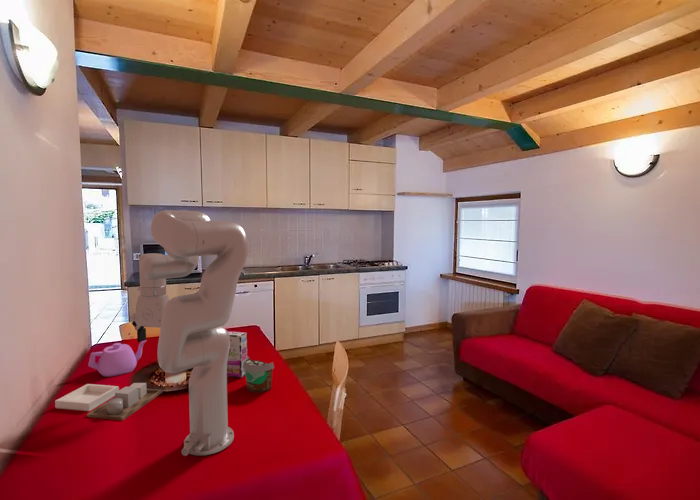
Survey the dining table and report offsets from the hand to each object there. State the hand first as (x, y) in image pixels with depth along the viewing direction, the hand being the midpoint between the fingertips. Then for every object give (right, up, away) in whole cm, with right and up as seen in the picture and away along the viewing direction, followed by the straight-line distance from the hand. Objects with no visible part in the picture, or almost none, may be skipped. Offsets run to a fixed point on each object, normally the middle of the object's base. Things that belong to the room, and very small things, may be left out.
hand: (154, 342), depth 121 cm
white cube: (-7, -19, +2) cm, 20 cm away
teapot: (-26, -18, +24) cm, 39 cm away
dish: (-21, -19, -1) cm, 28 cm away
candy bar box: (+19, -18, +21) cm, 34 cm away
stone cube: (-7, -19, -3) cm, 20 cm away
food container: (+31, -19, +8) cm, 37 cm away
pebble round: (-7, -19, -9) cm, 23 cm away
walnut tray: (-7, -20, -3) cm, 21 cm away
